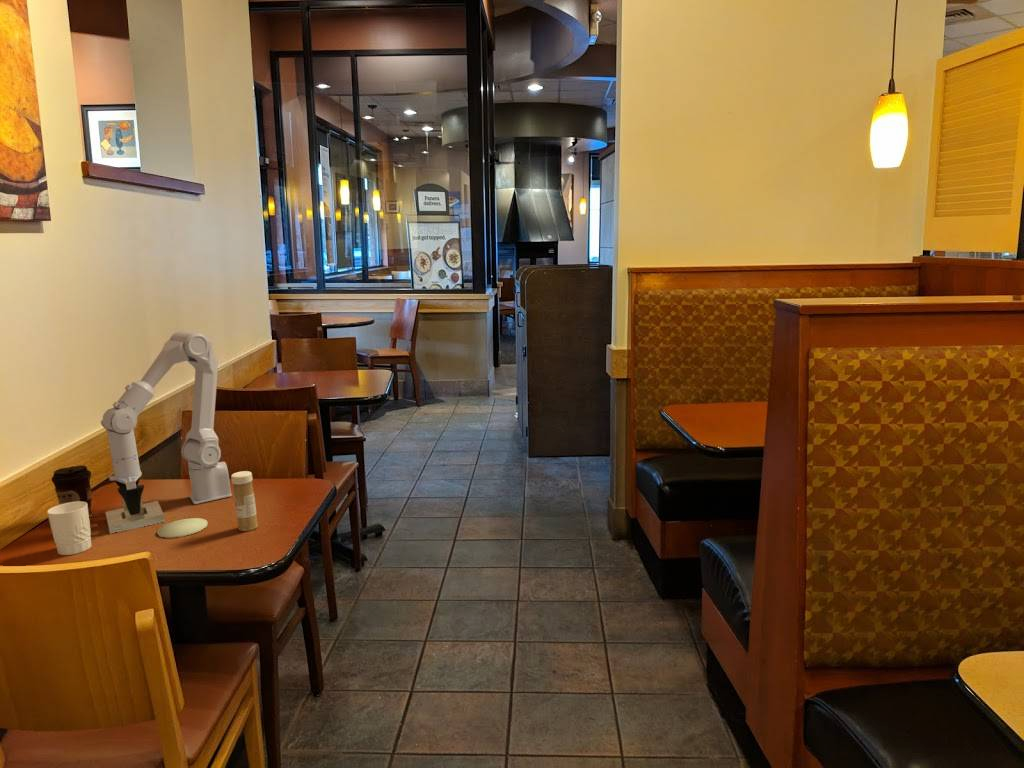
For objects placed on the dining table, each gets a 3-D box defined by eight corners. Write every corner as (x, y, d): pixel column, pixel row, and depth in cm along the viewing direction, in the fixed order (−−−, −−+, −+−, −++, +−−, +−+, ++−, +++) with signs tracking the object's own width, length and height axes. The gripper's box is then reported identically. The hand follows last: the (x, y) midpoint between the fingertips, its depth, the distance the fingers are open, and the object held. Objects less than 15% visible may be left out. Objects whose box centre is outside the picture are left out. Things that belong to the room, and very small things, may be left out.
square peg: (143, 516, 191) (138, 486, 189) (145, 521, 187) (140, 490, 186) (125, 520, 189) (120, 489, 187) (127, 525, 185) (121, 494, 184)
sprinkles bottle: (234, 529, 179) (226, 474, 176) (251, 523, 182) (244, 469, 179) (245, 533, 176) (237, 477, 173) (262, 526, 179) (255, 472, 176)
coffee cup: (79, 525, 187) (70, 474, 185) (51, 524, 189) (41, 474, 186) (105, 512, 196) (96, 463, 193) (77, 511, 197) (68, 463, 195)
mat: (203, 516, 188) (203, 514, 188) (211, 530, 179) (211, 528, 179) (154, 527, 183) (154, 525, 183) (160, 542, 173) (160, 540, 173)
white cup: (65, 543, 176) (57, 502, 174) (100, 540, 176) (93, 499, 174) (48, 558, 168) (39, 515, 166) (85, 555, 169) (77, 512, 167)
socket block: (158, 508, 196) (157, 500, 196) (164, 521, 186) (163, 514, 186) (106, 519, 190) (105, 511, 190) (110, 534, 180) (108, 526, 180)
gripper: (104, 453, 189) (113, 505, 192) (108, 467, 177) (117, 522, 179) (135, 447, 192) (143, 498, 195) (141, 460, 180) (150, 515, 183)
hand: (133, 509), depth 188 cm, fingers open, 7 cm apart
